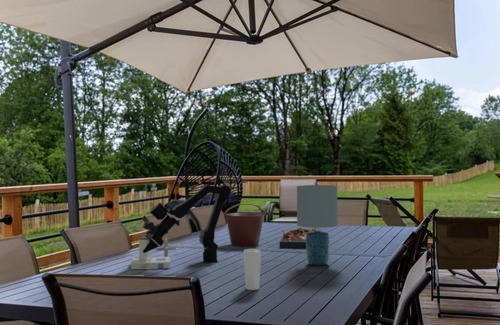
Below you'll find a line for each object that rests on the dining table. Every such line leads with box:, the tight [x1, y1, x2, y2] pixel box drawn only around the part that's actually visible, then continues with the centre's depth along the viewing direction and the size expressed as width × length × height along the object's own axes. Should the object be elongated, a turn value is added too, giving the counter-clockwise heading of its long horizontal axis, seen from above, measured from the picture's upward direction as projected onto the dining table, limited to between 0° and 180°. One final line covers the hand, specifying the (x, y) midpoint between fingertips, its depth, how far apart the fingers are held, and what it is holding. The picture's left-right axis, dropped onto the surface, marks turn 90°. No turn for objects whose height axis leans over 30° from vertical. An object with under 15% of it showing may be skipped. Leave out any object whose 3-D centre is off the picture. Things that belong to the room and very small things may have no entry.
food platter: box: [279, 227, 315, 249], centre depth 303 cm, size 45×25×10 cm, turn 169°
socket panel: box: [130, 256, 171, 270], centre depth 233 cm, size 18×14×3 cm
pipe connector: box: [155, 238, 177, 257], centre depth 254 cm, size 10×10×10 cm
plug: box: [138, 236, 152, 262], centre depth 233 cm, size 4×4×14 cm
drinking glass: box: [242, 248, 262, 291], centre depth 188 cm, size 7×7×15 cm
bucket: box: [224, 203, 266, 248], centre depth 295 cm, size 24×22×25 cm
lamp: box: [296, 184, 339, 267], centre depth 234 cm, size 19×19×38 cm
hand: (141, 250), depth 232 cm, fingers open, 9 cm apart
